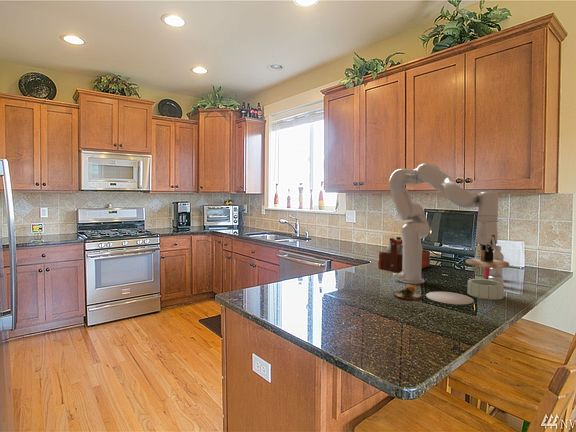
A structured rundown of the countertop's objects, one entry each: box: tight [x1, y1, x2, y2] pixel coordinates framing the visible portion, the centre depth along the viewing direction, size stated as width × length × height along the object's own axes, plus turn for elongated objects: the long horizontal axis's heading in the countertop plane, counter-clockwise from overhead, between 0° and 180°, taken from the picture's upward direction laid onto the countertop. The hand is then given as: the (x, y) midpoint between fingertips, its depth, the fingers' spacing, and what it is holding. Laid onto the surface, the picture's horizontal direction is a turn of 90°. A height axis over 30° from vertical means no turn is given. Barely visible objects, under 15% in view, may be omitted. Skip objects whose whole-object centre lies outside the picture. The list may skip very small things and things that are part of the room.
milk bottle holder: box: [377, 236, 431, 273], centre depth 217 cm, size 21×35×19 cm, turn 137°
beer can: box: [483, 267, 490, 280], centre depth 187 cm, size 7×7×12 cm
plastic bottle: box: [487, 245, 505, 284], centre depth 173 cm, size 6×7×20 cm
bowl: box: [466, 278, 505, 300], centre depth 155 cm, size 14×14×6 cm
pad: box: [425, 291, 475, 305], centre depth 151 cm, size 19×19×1 cm
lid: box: [465, 249, 510, 269], centre depth 154 cm, size 17×17×6 cm
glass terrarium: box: [393, 284, 422, 301], centre depth 152 cm, size 12×12×8 cm
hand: (486, 259), depth 154 cm, fingers closed on lid, 3 cm apart
